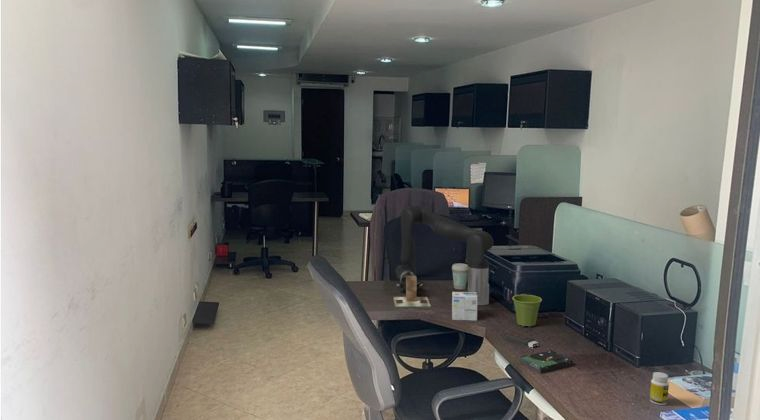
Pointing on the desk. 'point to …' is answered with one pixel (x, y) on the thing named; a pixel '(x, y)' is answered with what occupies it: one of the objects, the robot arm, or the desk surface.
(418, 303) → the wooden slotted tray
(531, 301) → the plant pot
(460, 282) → the coffee cup
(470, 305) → the light bulb box
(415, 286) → the walnut block
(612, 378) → the desk surface
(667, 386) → the supplement bottle
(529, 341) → the usb drive
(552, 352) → the disk drive
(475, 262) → the robot arm
